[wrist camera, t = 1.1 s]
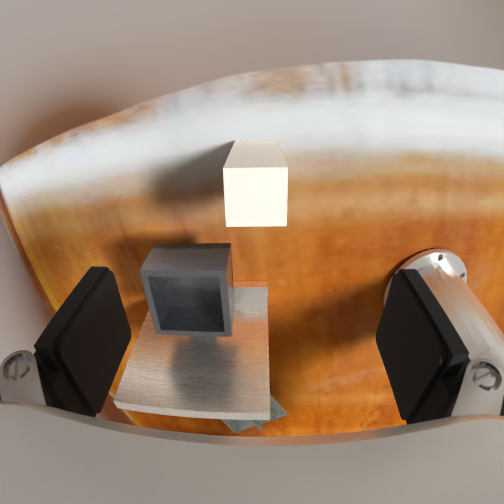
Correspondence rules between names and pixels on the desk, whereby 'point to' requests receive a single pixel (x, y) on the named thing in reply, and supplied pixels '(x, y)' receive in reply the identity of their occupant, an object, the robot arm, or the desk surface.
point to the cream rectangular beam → (255, 184)
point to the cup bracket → (199, 338)
